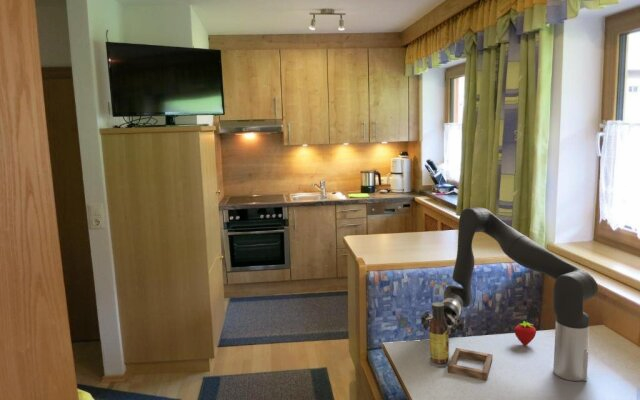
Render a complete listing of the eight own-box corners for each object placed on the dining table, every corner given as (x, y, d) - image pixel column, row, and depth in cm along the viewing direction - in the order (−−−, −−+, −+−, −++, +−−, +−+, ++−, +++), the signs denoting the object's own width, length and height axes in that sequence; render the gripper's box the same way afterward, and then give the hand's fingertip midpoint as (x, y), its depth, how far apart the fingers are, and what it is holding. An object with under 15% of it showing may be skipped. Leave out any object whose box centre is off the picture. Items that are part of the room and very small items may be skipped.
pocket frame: (492, 361, 157) (492, 354, 157) (486, 380, 146) (487, 373, 146) (455, 354, 163) (456, 347, 162) (448, 372, 151) (448, 365, 151)
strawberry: (510, 342, 170) (511, 316, 169) (530, 340, 171) (531, 314, 169) (518, 349, 165) (519, 323, 163) (539, 348, 165) (540, 321, 164)
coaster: (452, 359, 160) (452, 357, 159) (447, 369, 153) (447, 367, 153) (431, 355, 163) (431, 353, 163) (426, 365, 157) (426, 363, 156)
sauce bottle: (451, 364, 155) (450, 307, 152) (432, 365, 155) (431, 308, 152) (446, 354, 161) (445, 300, 158) (428, 355, 161) (427, 301, 158)
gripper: (429, 298, 171) (417, 315, 157) (469, 304, 165) (460, 322, 150) (429, 318, 172) (417, 336, 158) (469, 324, 166) (460, 344, 152)
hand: (438, 329), depth 154 cm, fingers open, 8 cm apart
